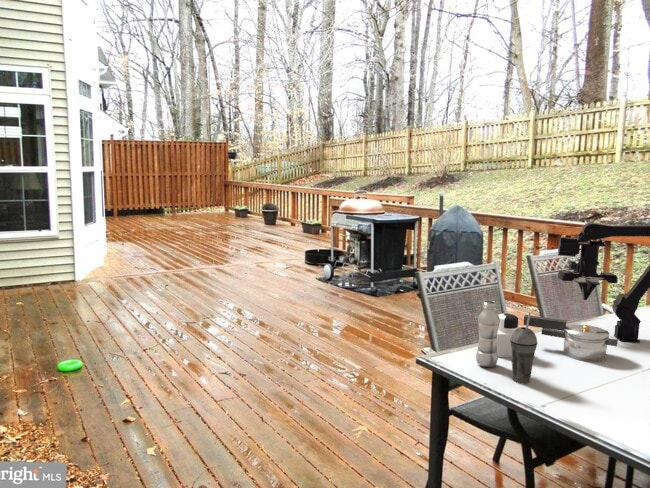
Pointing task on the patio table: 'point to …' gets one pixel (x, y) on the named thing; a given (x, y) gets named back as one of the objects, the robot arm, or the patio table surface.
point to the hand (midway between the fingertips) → (584, 300)
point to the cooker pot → (582, 346)
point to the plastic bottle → (488, 335)
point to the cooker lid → (568, 328)
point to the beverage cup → (523, 353)
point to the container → (506, 334)
